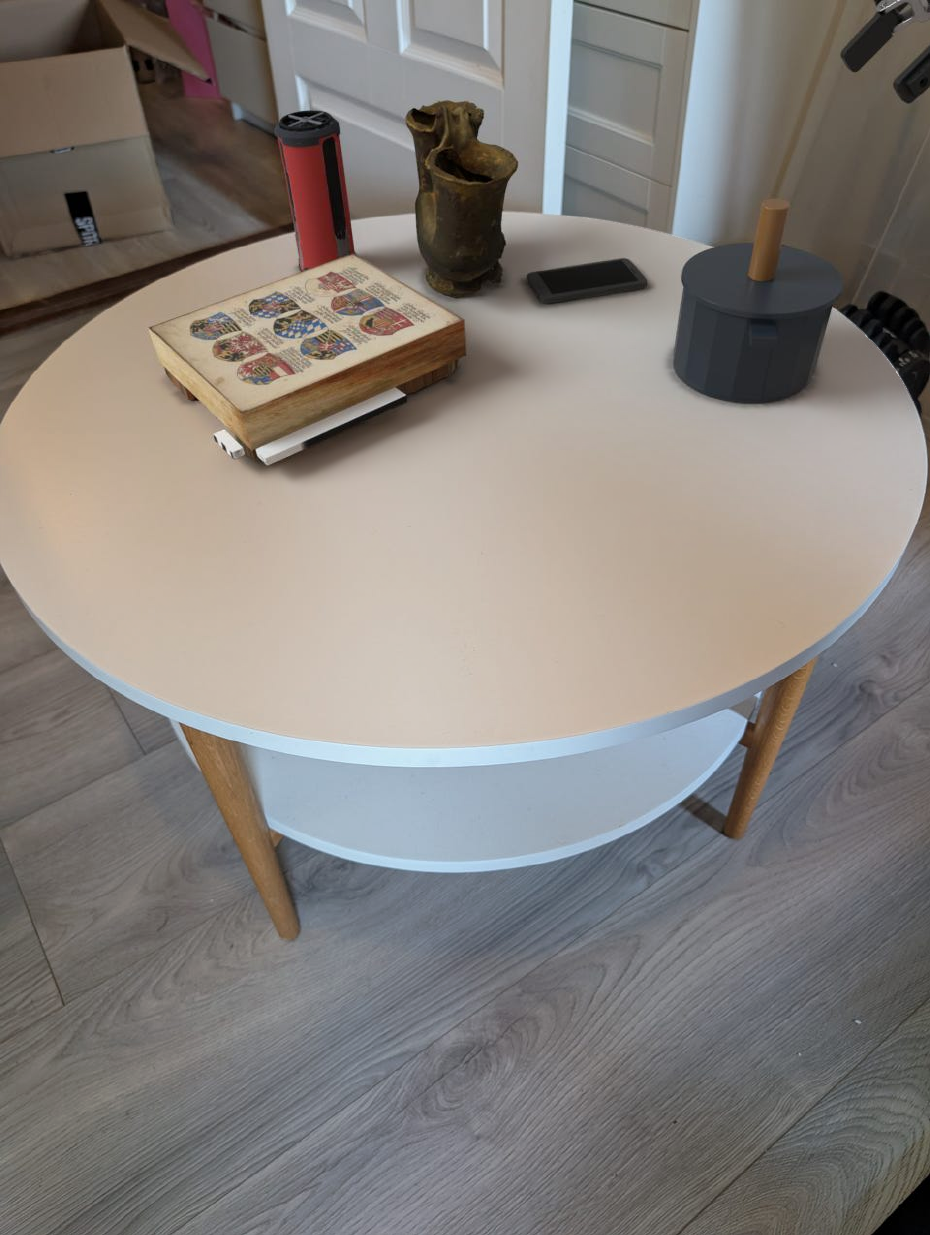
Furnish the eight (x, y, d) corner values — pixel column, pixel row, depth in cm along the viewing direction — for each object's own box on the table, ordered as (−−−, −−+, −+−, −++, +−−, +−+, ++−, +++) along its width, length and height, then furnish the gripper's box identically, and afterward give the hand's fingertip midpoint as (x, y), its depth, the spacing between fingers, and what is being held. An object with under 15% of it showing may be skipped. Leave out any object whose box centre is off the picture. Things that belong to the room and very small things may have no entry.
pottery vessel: (404, 241, 120) (390, 78, 106) (481, 232, 122) (477, 69, 107) (437, 328, 103) (425, 147, 89) (526, 316, 104) (528, 135, 90)
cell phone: (524, 278, 111) (524, 272, 110) (627, 262, 113) (628, 256, 112) (541, 304, 106) (541, 298, 105) (649, 287, 108) (650, 281, 107)
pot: (802, 324, 100) (823, 241, 94) (822, 422, 87) (848, 334, 80) (673, 318, 103) (684, 237, 96) (672, 414, 89) (686, 327, 82)
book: (253, 490, 83) (483, 384, 94) (237, 434, 79) (481, 329, 90) (150, 386, 97) (360, 304, 108) (131, 333, 93) (353, 253, 104)
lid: (869, 313, 84) (896, 227, 78) (714, 334, 82) (730, 248, 76) (797, 246, 94) (816, 165, 88) (658, 263, 93) (668, 182, 87)
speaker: (328, 286, 112) (304, 133, 99) (287, 271, 115) (258, 122, 102) (369, 264, 116) (351, 114, 103) (328, 250, 119) (306, 103, 106)
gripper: (988, -172, 66) (808, 22, 73) (1120, -153, 56) (897, 69, 63) (1023, -88, 70) (850, 87, 77) (1151, -57, 61) (939, 141, 68)
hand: (872, 79), depth 70 cm, fingers open, 8 cm apart
